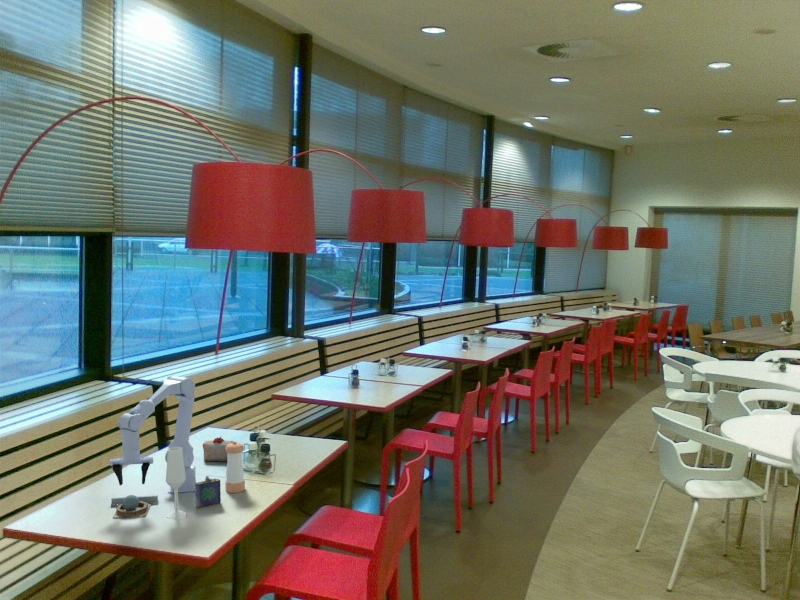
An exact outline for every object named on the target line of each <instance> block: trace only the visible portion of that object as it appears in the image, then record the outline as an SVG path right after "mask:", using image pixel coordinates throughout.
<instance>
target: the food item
mask: <svg viewBox="0 0 800 600" xmlns="http://www.w3.org/2000/svg"><path fill="white" fill-rule="evenodd" d="M233 441H234V440H224V439H223V438H222V436H220V437H215V438H214V439H213V440H205V441H204V442H203V443H202V449H203V461H204V462H225V463H226V462H227V452H226V450H225V447H226V446H227V445H228V444H230V443H232V442H233Z"/></svg>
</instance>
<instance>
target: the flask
mask: <svg viewBox="0 0 800 600" xmlns="http://www.w3.org/2000/svg"><path fill="white" fill-rule="evenodd" d="M221 494H222V493H221V480H220V479H219V478H209V475H206V476H205V479H204V480H203V481H198V482H197V481H196V483H195V489H194V495H195V496H194V498H195V499H194V500H195V502H194V503H195V504H194V506H195V508H196V509H198V508H199V509H201V508H205V507H206V508H207V507H210V506H216V505H221V501H222V500H221Z"/></svg>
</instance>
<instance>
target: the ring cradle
mask: <svg viewBox="0 0 800 600" xmlns="http://www.w3.org/2000/svg"><path fill="white" fill-rule="evenodd" d="M151 506H152V503H146V502H143V501H139V505H138V507H137V508H136V509H135V510H133V511H127V510H125V509H124V508H123V505H122V504H120V505H117V508H116V510H115V513H114V514H113V516H112V519H113V518H116V519H128V518H127V517H132V518H141V517H140V516H143V517H142V518H145V517H144V516H146V517H147V515H148V512H149V511H150V508H151ZM148 510H149V511H148Z"/></svg>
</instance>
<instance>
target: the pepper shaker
mask: <svg viewBox="0 0 800 600" xmlns="http://www.w3.org/2000/svg"><path fill="white" fill-rule="evenodd" d="M232 441H233V442H232V443H230V444H228V445H227V446H226V447H225V450H226V452H227V465H226V470H225V471H226V472H225V474H226V475H225V477H226V480H225V492H227V493H230V494H238V493H241V492H244V491H245V489H246V483H245V482H246V481H245V477H244V476H245V473H244V472H245V470H244V465H243V451H244V448H245V447H244V445H243V443H241V442H237V441H236V440H232Z"/></svg>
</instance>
